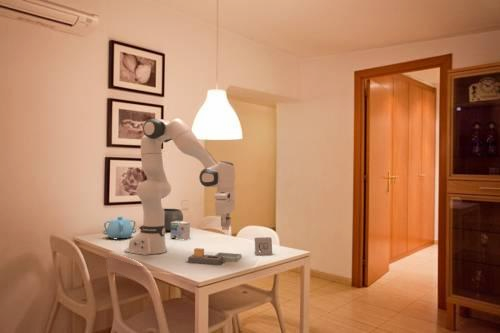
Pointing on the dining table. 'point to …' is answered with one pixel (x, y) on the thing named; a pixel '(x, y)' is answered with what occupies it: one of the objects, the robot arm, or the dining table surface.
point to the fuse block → (206, 260)
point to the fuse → (198, 252)
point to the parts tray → (229, 256)
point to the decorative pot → (119, 228)
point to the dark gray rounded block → (172, 217)
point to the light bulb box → (180, 230)
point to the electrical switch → (263, 246)
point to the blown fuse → (226, 225)
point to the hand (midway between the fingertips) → (225, 222)
